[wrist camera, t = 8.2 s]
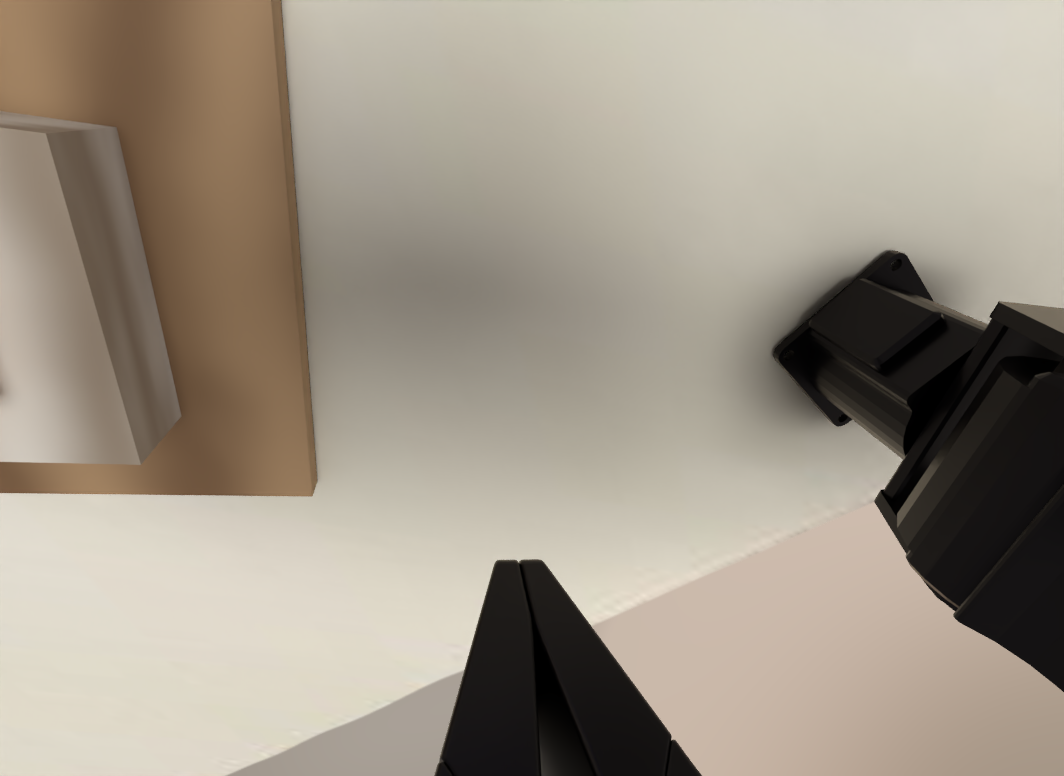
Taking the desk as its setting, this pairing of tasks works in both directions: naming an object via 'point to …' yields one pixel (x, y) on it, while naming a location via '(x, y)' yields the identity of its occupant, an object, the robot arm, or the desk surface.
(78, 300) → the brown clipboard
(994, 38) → the desk surface
